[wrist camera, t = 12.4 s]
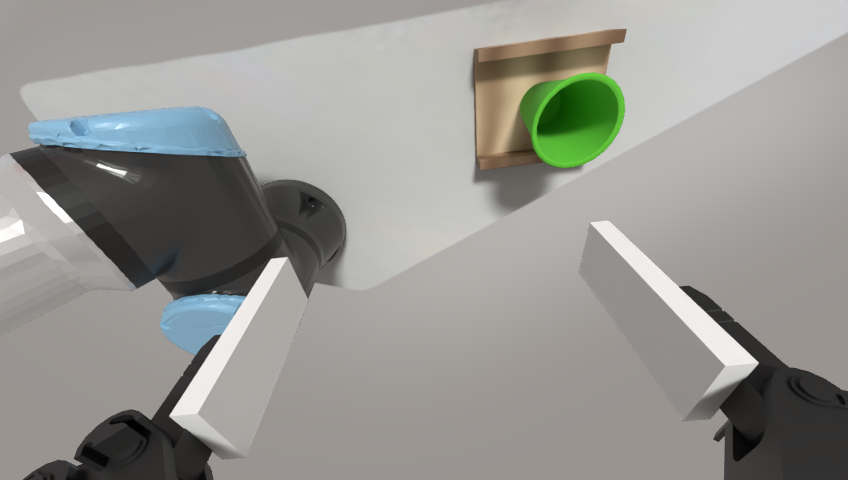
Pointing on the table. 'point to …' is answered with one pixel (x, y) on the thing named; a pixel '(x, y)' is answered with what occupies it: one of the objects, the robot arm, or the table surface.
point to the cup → (573, 118)
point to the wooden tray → (526, 88)
